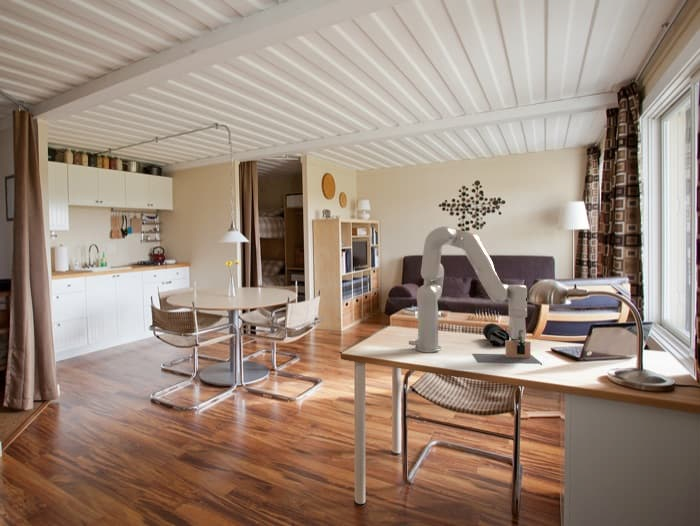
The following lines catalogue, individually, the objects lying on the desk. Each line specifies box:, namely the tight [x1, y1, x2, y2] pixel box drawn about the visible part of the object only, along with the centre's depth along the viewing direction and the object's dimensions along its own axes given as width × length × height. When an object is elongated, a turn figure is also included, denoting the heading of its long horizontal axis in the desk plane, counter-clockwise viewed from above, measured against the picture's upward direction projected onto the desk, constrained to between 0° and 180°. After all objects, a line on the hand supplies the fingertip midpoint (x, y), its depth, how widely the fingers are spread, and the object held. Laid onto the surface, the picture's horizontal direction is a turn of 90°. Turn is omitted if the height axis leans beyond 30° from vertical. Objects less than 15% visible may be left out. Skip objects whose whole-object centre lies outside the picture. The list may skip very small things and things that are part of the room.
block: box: [504, 339, 532, 358], centre depth 180 cm, size 10×2×7 cm, turn 83°
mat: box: [471, 353, 543, 366], centre depth 178 cm, size 26×14×1 cm, turn 83°
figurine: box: [483, 322, 510, 348], centre depth 207 cm, size 9×9×20 cm
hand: (517, 351), depth 180 cm, fingers open, 9 cm apart
